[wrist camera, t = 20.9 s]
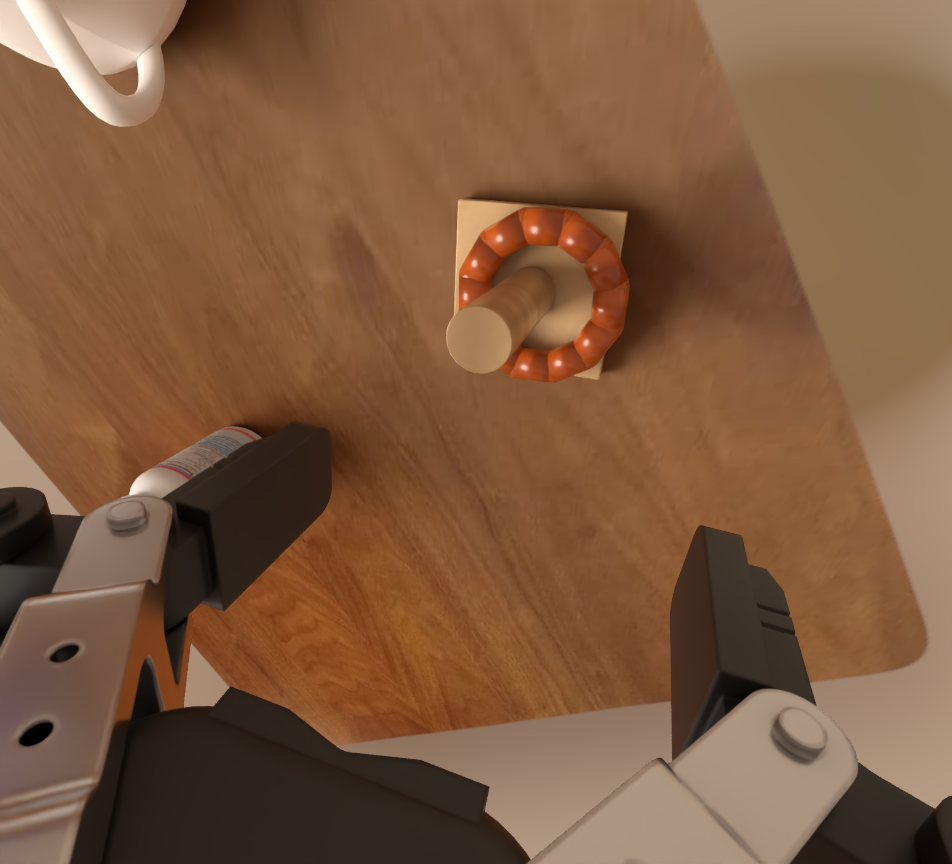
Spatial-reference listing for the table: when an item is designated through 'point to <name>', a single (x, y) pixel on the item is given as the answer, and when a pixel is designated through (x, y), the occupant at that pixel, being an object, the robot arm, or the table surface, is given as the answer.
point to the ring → (581, 245)
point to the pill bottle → (191, 462)
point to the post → (523, 291)
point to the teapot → (97, 47)
